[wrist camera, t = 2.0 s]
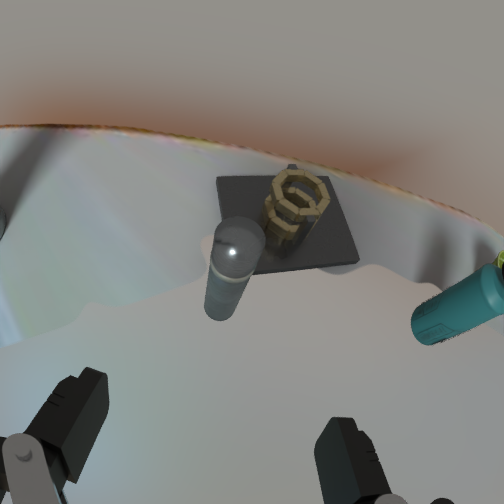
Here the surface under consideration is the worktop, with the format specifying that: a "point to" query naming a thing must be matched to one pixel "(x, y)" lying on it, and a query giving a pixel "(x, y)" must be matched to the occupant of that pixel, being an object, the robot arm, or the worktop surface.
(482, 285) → the beverage bottle
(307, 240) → the dark square plate
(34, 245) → the worktop surface
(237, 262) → the glossy dome-topped cylinder
